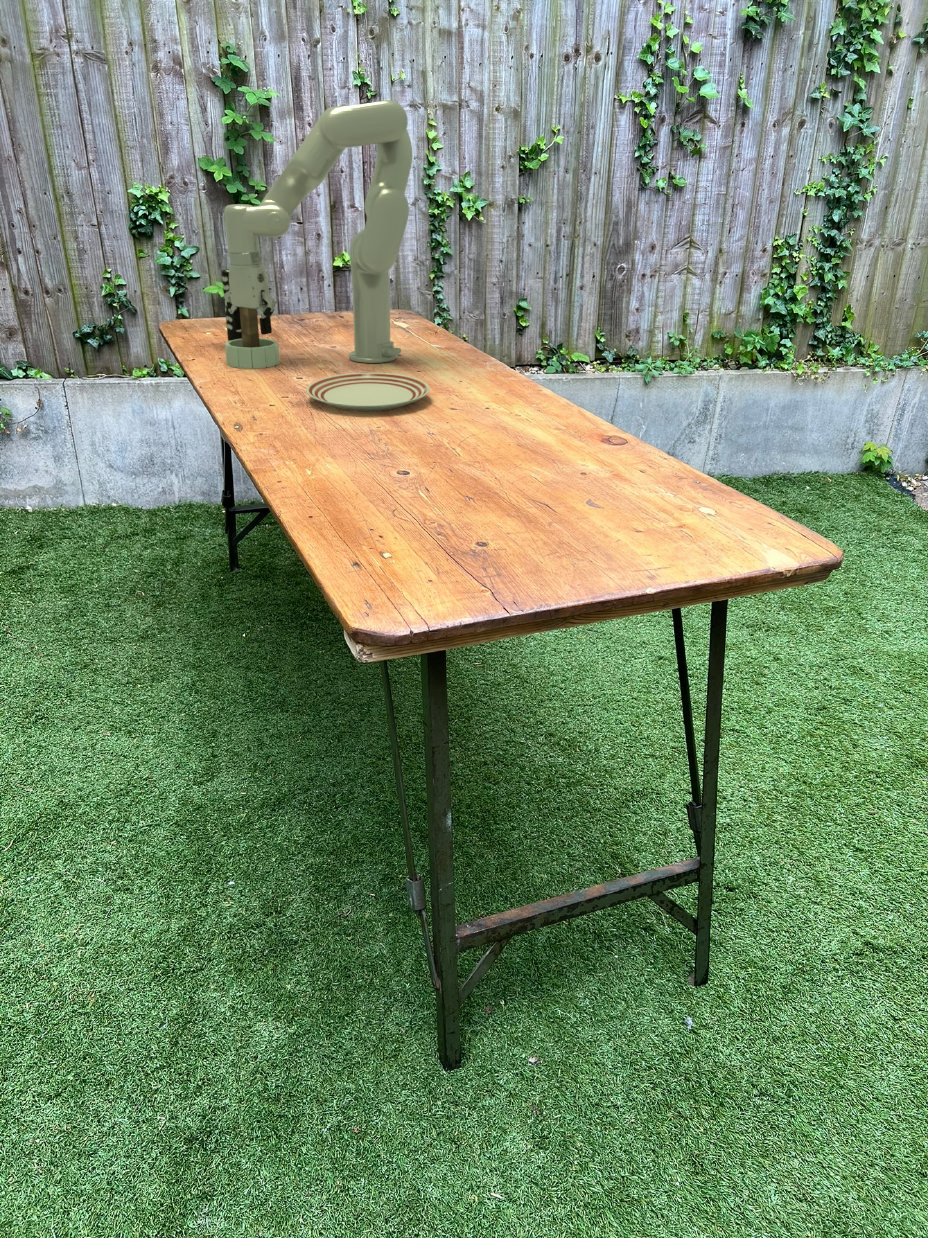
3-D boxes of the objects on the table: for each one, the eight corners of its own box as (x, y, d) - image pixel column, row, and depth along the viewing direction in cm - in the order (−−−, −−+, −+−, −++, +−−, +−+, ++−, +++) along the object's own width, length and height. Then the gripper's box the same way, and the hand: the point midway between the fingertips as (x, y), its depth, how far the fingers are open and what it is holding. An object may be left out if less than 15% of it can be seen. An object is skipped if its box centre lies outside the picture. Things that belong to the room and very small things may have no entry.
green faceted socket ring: (289, 362, 236) (288, 342, 234) (252, 370, 226) (250, 350, 224) (253, 355, 242) (252, 336, 240) (216, 363, 233) (214, 343, 230)
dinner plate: (412, 422, 190) (412, 406, 188) (288, 412, 194) (287, 396, 193) (442, 391, 213) (442, 376, 212) (330, 382, 218) (330, 368, 217)
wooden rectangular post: (261, 360, 234) (256, 303, 228) (252, 362, 232) (247, 305, 226) (252, 358, 236) (247, 302, 229) (244, 360, 234) (239, 303, 227)
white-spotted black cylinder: (255, 351, 247) (249, 273, 238) (225, 350, 247) (217, 272, 238) (262, 344, 255) (256, 269, 245) (232, 344, 255) (225, 268, 245)
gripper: (281, 260, 221) (288, 332, 229) (232, 255, 230) (240, 325, 238) (259, 263, 216) (266, 337, 224) (209, 258, 224) (218, 330, 232)
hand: (252, 331), depth 231 cm, fingers open, 9 cm apart
